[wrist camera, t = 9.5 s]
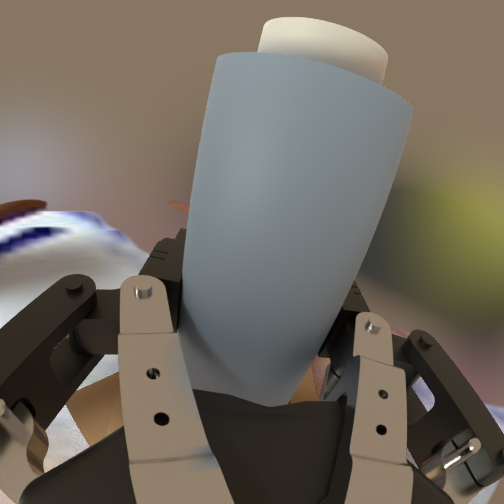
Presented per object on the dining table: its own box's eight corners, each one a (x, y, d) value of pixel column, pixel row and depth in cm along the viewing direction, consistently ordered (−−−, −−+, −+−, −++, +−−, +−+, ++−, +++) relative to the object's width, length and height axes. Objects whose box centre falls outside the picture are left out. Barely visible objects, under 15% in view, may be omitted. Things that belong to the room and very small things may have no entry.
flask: (156, 415, 13) (187, 14, 5) (221, 376, 17) (297, 60, 9) (220, 480, 10) (395, 5, 2) (281, 427, 14) (433, 91, 6)
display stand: (63, 413, 14) (34, 363, 11) (216, 336, 25) (226, 284, 22) (216, 586, 6) (232, 605, 3) (355, 442, 17) (398, 404, 14)
